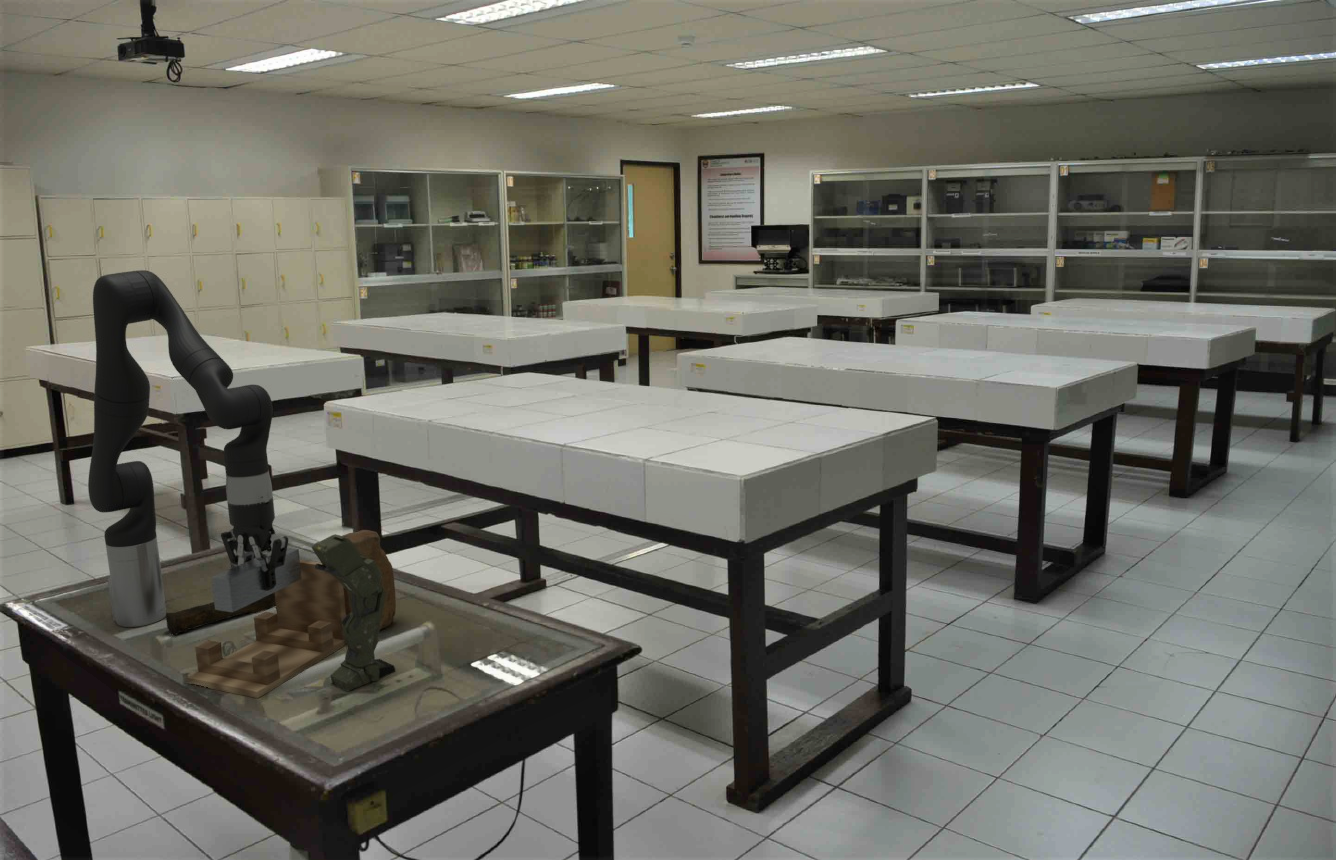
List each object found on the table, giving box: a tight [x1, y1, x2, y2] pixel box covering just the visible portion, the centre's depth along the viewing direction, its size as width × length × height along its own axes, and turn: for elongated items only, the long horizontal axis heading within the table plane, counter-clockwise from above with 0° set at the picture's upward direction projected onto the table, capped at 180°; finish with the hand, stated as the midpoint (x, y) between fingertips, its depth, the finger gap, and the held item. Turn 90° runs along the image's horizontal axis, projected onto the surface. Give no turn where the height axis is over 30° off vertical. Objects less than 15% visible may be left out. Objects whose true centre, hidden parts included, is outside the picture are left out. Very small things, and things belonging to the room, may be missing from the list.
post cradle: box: [186, 559, 347, 699], centre depth 178 cm, size 16×24×16 cm
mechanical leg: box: [311, 533, 396, 692], centre depth 170 cm, size 13×7×29 cm, turn 140°
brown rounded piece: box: [342, 529, 397, 632], centre depth 193 cm, size 11×8×20 cm
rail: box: [210, 547, 302, 612], centre depth 176 cm, size 4×17×6 cm, turn 159°
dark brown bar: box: [165, 592, 276, 636], centre depth 200 cm, size 23×5×6 cm, turn 132°
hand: (259, 587), depth 176 cm, fingers closed on rail, 4 cm apart
